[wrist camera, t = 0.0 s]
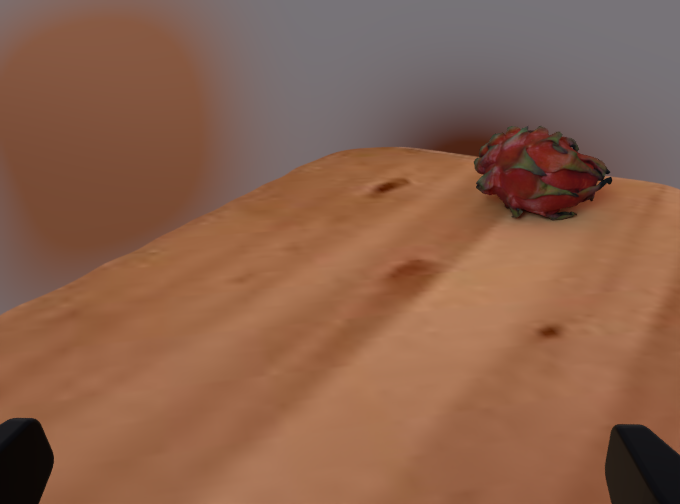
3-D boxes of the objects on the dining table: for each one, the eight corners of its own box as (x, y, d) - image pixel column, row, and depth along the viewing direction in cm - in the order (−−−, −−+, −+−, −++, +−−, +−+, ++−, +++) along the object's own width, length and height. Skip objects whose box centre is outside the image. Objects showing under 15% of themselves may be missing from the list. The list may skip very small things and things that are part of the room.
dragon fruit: (465, 213, 59) (590, 246, 54) (450, 193, 51) (596, 230, 46) (491, 132, 59) (618, 159, 54) (481, 100, 51) (628, 128, 47)
